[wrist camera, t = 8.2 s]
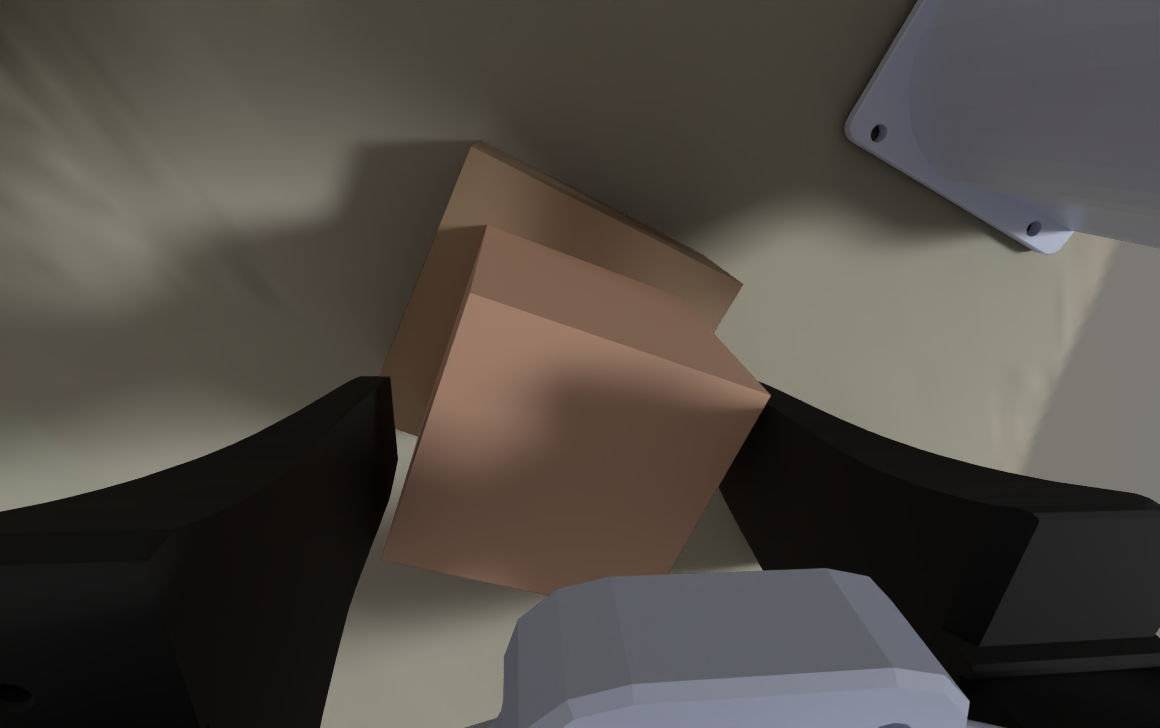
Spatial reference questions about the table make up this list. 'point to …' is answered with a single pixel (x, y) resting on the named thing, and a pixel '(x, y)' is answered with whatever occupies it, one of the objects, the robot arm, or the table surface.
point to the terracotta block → (568, 427)
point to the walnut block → (546, 217)
